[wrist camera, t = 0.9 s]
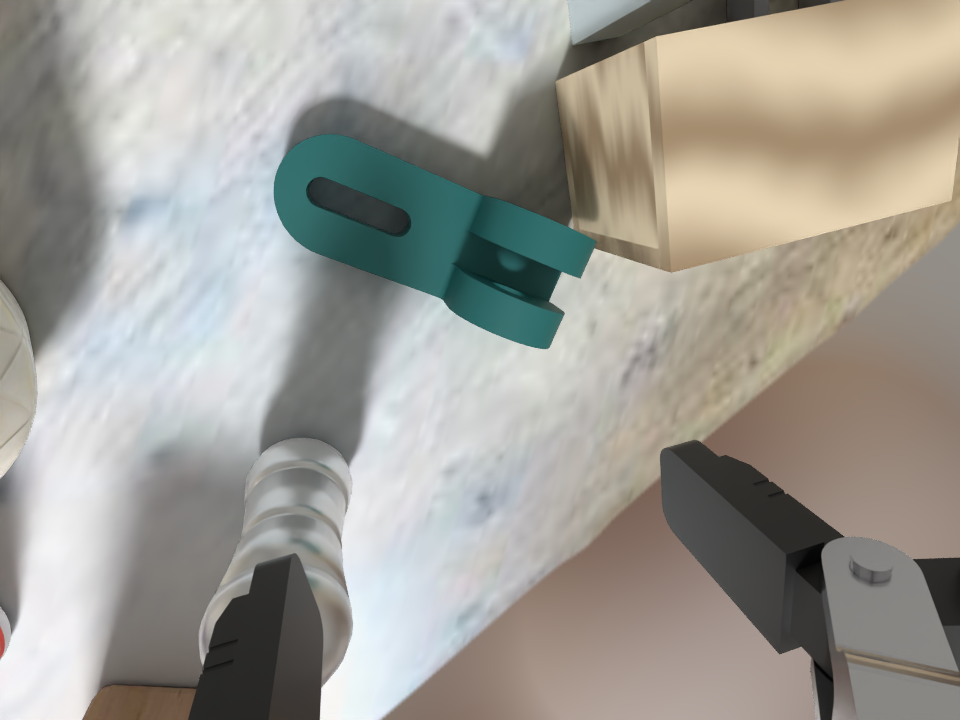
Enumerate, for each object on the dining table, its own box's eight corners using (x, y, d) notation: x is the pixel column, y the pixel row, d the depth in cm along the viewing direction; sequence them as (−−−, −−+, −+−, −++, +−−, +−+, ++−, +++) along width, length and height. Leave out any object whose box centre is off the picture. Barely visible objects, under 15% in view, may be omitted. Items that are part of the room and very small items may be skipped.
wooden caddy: (522, -173, 29) (629, -390, 18) (824, -212, 31) (1084, -422, 20) (575, 242, 37) (671, 272, 26) (811, 185, 39) (991, 190, 28)
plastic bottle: (257, 420, 36) (156, 682, 18) (359, 431, 38) (365, 678, 19) (247, 503, 38) (146, 820, 19) (345, 510, 40) (338, 805, 21)
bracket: (564, 233, 37) (616, 248, 29) (525, 323, 38) (565, 359, 31) (298, 116, 31) (281, 100, 24) (265, 228, 32) (239, 245, 25)
